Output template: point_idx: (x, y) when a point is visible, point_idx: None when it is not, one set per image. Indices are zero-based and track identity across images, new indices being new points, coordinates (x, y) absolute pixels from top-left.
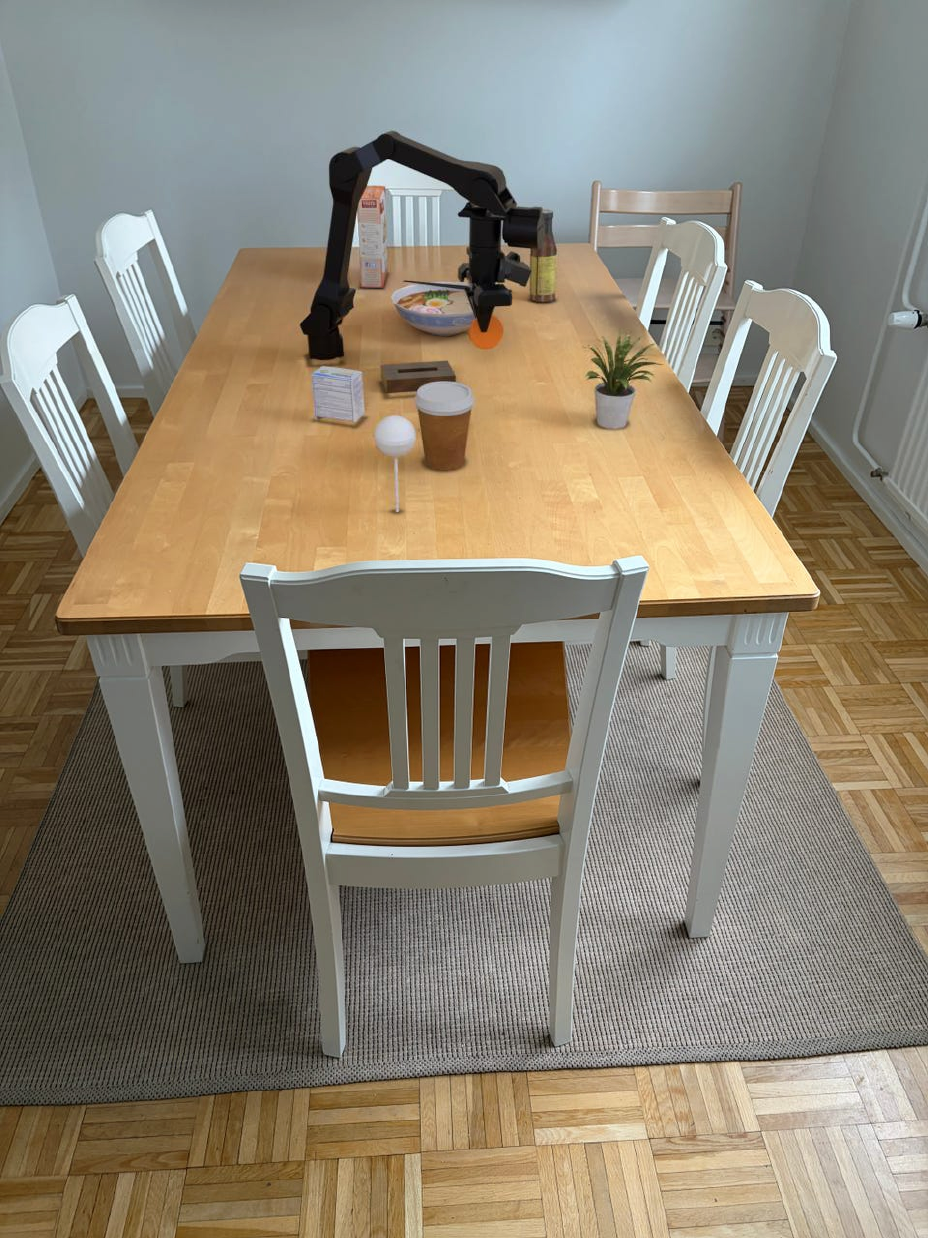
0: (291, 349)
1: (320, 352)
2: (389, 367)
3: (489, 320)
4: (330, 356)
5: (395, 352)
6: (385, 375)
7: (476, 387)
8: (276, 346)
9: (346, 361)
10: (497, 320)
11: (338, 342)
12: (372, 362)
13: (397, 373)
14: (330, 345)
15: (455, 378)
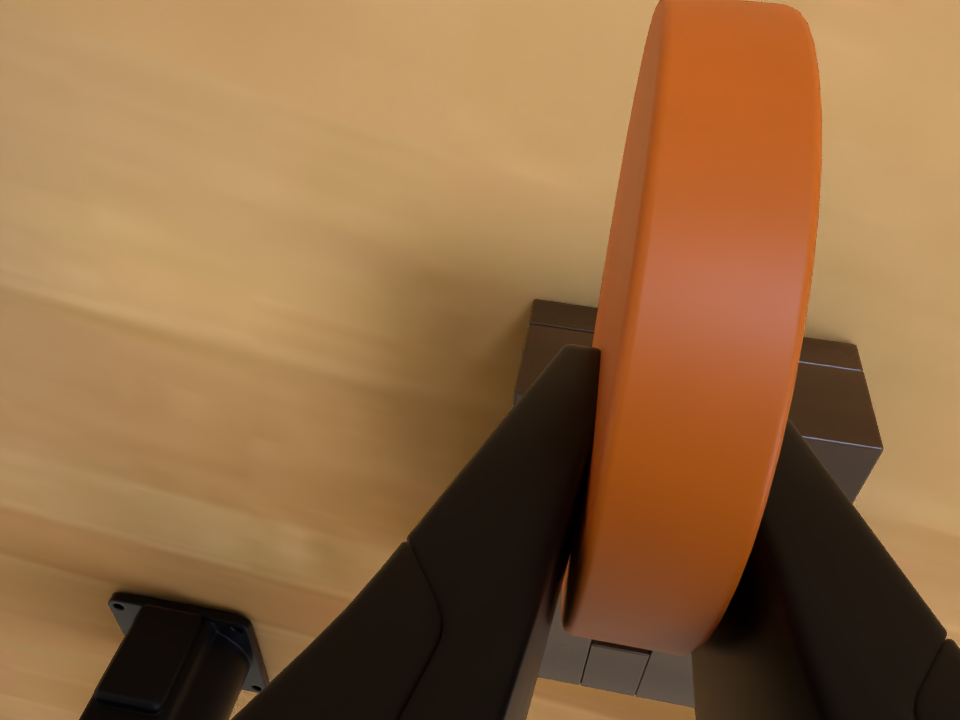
0: (93, 671)
1: (232, 709)
2: (545, 657)
3: (880, 551)
4: (235, 670)
5: (65, 414)
6: (659, 698)
7: (824, 166)
8: (69, 688)
9: (214, 595)
10: (795, 315)
11: (180, 700)
12: (226, 531)
13: (654, 660)
14: (211, 718)
15: (878, 430)
